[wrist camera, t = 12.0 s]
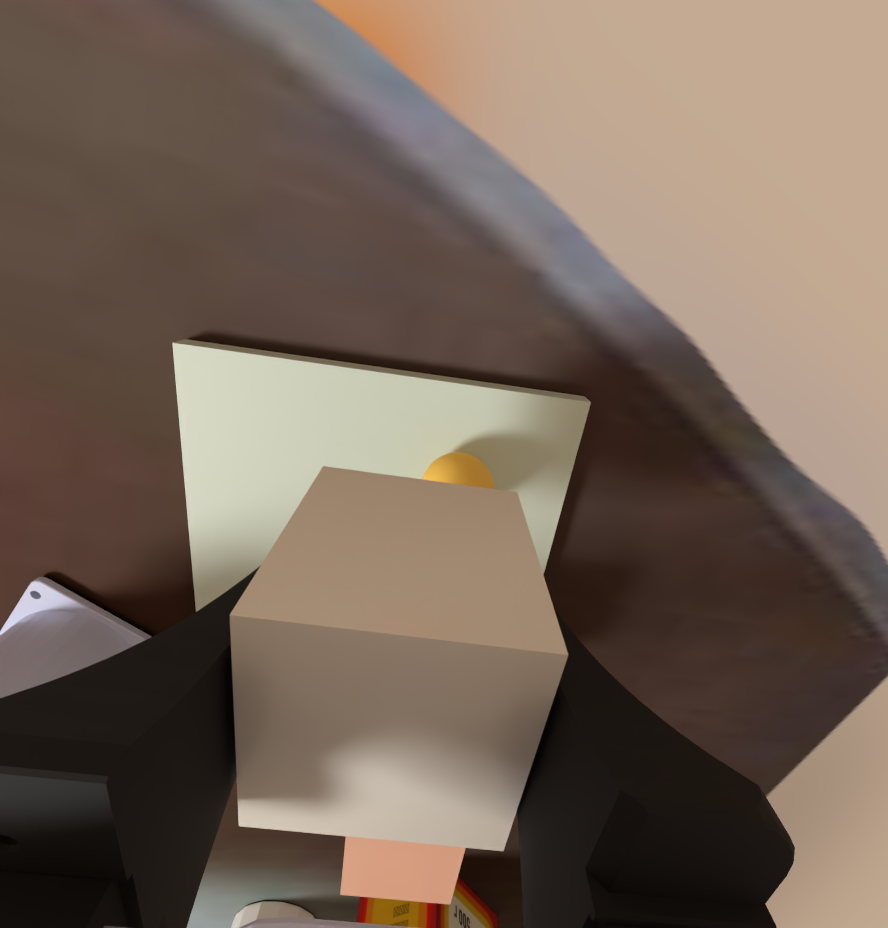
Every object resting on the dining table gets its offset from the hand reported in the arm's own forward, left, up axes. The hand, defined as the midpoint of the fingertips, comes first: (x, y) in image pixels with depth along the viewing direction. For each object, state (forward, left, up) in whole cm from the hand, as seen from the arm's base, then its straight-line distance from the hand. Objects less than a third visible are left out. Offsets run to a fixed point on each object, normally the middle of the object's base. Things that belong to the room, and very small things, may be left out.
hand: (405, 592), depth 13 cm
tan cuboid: (0, 0, -2) cm, 2 cm away
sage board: (-9, -3, -9) cm, 13 cm away
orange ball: (+1, -1, -7) cm, 7 cm away
